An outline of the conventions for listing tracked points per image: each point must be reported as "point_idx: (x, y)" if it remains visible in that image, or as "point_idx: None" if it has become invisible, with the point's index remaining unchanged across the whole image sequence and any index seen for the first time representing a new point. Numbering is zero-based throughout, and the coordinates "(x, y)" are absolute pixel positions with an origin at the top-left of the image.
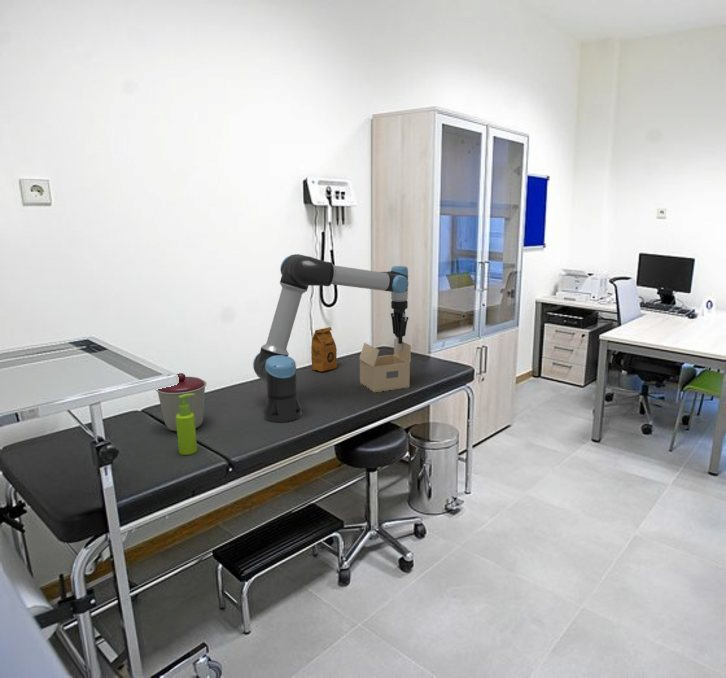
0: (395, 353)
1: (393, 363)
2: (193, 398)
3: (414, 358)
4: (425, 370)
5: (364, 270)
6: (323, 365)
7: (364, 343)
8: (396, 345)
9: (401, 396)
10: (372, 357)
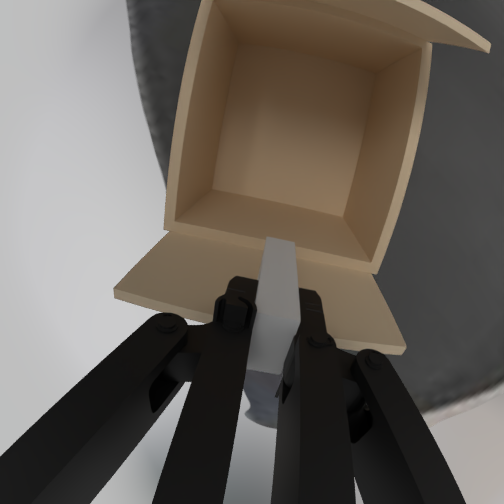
0: (357, 276)
1: (351, 240)
2: None
3: (421, 392)
4: None
5: None
6: None
7: (481, 38)
8: (279, 258)
9: (142, 106)
10: None
